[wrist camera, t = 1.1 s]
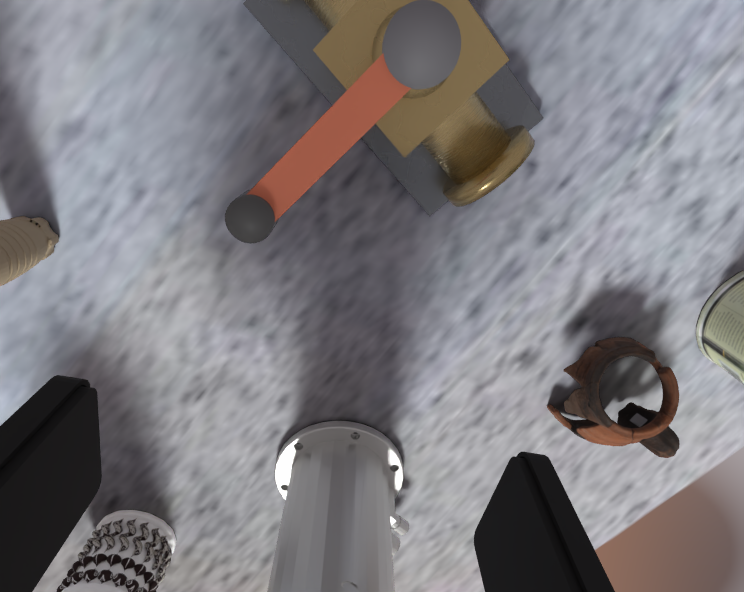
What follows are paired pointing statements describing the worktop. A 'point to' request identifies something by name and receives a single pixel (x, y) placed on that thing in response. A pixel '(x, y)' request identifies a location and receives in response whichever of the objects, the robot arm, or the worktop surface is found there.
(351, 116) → the lever
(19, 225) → the handle
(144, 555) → the white patterned cylinder
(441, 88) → the valve
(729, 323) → the coffee can
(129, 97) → the worktop surface
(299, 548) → the robot arm
